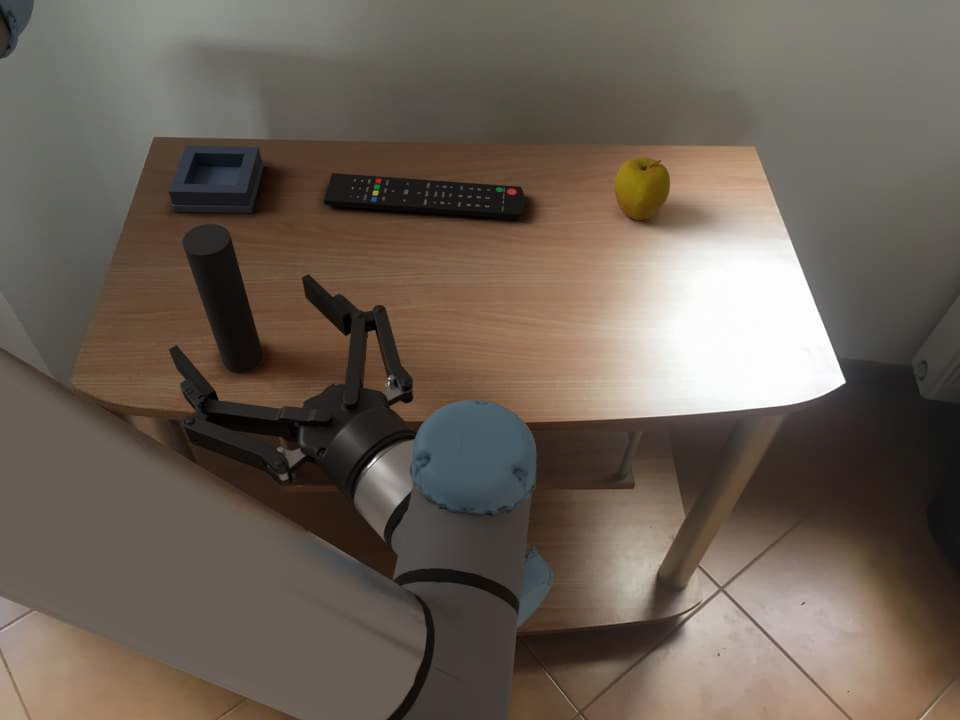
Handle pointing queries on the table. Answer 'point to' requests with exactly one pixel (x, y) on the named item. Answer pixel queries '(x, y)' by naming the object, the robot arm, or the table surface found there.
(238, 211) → the socket pad
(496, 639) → the robot arm
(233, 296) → the tall dark cylinder
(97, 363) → the table surface
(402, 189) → the remote control
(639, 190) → the apple
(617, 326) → the table surface
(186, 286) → the table surface
